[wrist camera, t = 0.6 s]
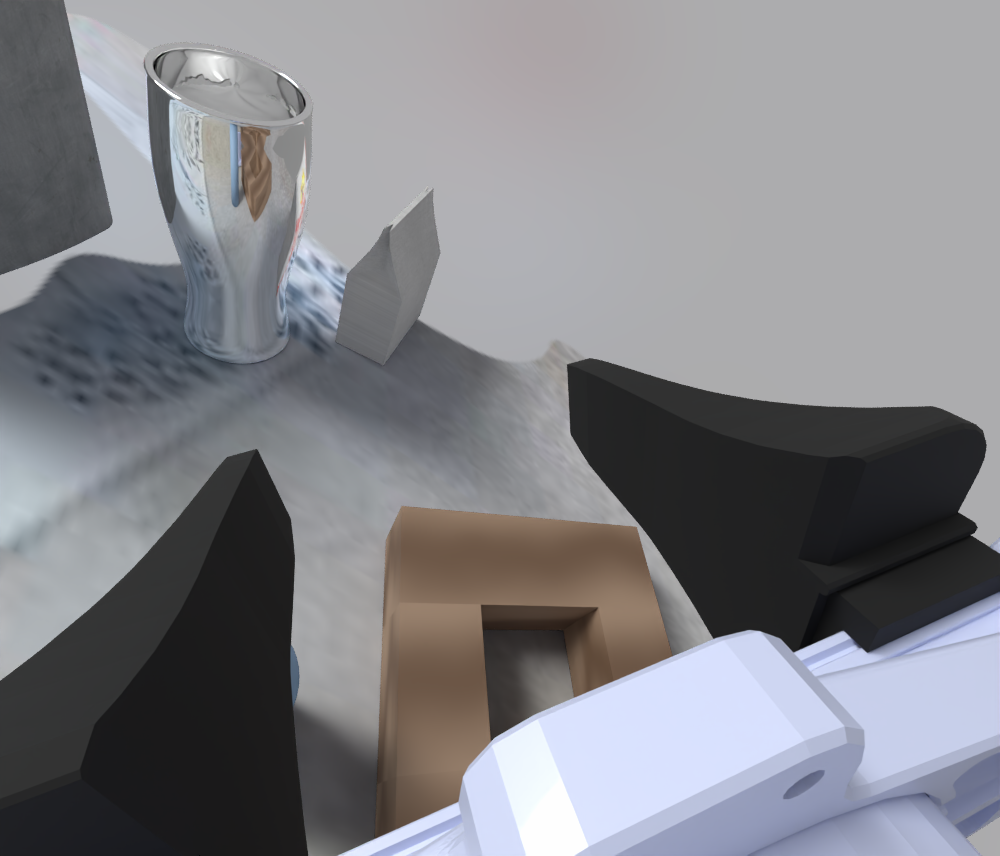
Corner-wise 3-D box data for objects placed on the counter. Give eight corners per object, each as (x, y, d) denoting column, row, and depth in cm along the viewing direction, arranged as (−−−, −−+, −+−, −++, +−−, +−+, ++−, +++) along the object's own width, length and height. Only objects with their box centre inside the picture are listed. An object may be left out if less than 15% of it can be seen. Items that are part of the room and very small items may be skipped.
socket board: (676, 879, 24) (736, 886, 21) (370, 941, 19) (393, 960, 16) (602, 553, 33) (636, 526, 30) (385, 539, 28) (401, 506, 25)
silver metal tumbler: (304, 368, 33) (331, 140, 22) (179, 371, 30) (137, 103, 19) (288, 295, 37) (304, 65, 26) (173, 290, 33) (136, 22, 22)
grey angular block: (419, 314, 41) (457, 200, 33) (383, 365, 36) (417, 246, 29) (377, 293, 40) (406, 173, 33) (335, 341, 36) (357, 215, 28)
